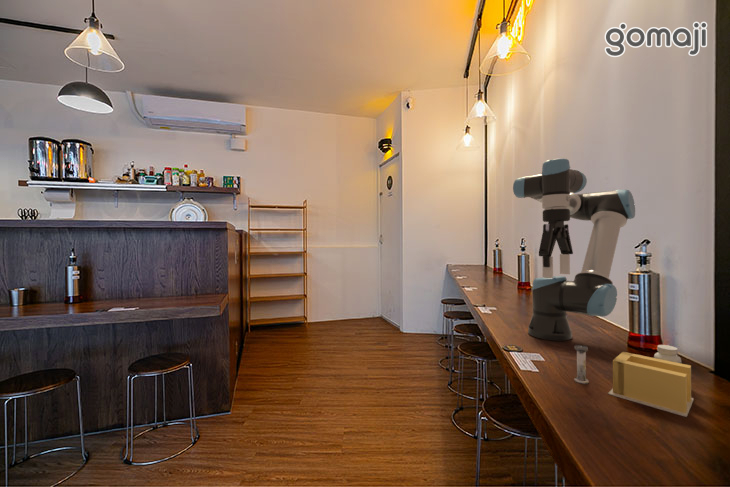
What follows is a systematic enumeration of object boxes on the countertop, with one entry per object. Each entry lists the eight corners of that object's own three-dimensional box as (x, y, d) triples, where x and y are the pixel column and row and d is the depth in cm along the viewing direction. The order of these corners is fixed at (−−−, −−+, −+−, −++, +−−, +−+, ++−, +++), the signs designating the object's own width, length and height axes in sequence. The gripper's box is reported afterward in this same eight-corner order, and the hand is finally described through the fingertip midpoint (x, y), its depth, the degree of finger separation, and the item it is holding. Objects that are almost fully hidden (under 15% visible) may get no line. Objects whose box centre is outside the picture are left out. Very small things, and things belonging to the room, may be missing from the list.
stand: (576, 377, 91) (576, 343, 91) (590, 381, 89) (590, 346, 89) (572, 381, 89) (572, 346, 89) (586, 385, 87) (586, 349, 86)
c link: (612, 392, 82) (612, 360, 82) (622, 381, 88) (622, 351, 88) (685, 413, 72) (685, 377, 72) (691, 399, 78) (691, 365, 78)
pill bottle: (655, 377, 91) (654, 342, 91) (681, 382, 87) (681, 346, 87) (653, 383, 87) (653, 347, 87) (681, 389, 83) (680, 352, 83)
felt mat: (620, 380, 89) (620, 379, 89) (693, 399, 78) (693, 398, 78) (608, 394, 82) (608, 392, 82) (686, 417, 71) (686, 415, 71)
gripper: (552, 206, 93) (553, 280, 94) (583, 209, 109) (583, 273, 110) (526, 208, 99) (526, 278, 99) (558, 211, 115) (559, 271, 115)
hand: (556, 275), depth 104 cm, fingers open, 13 cm apart
